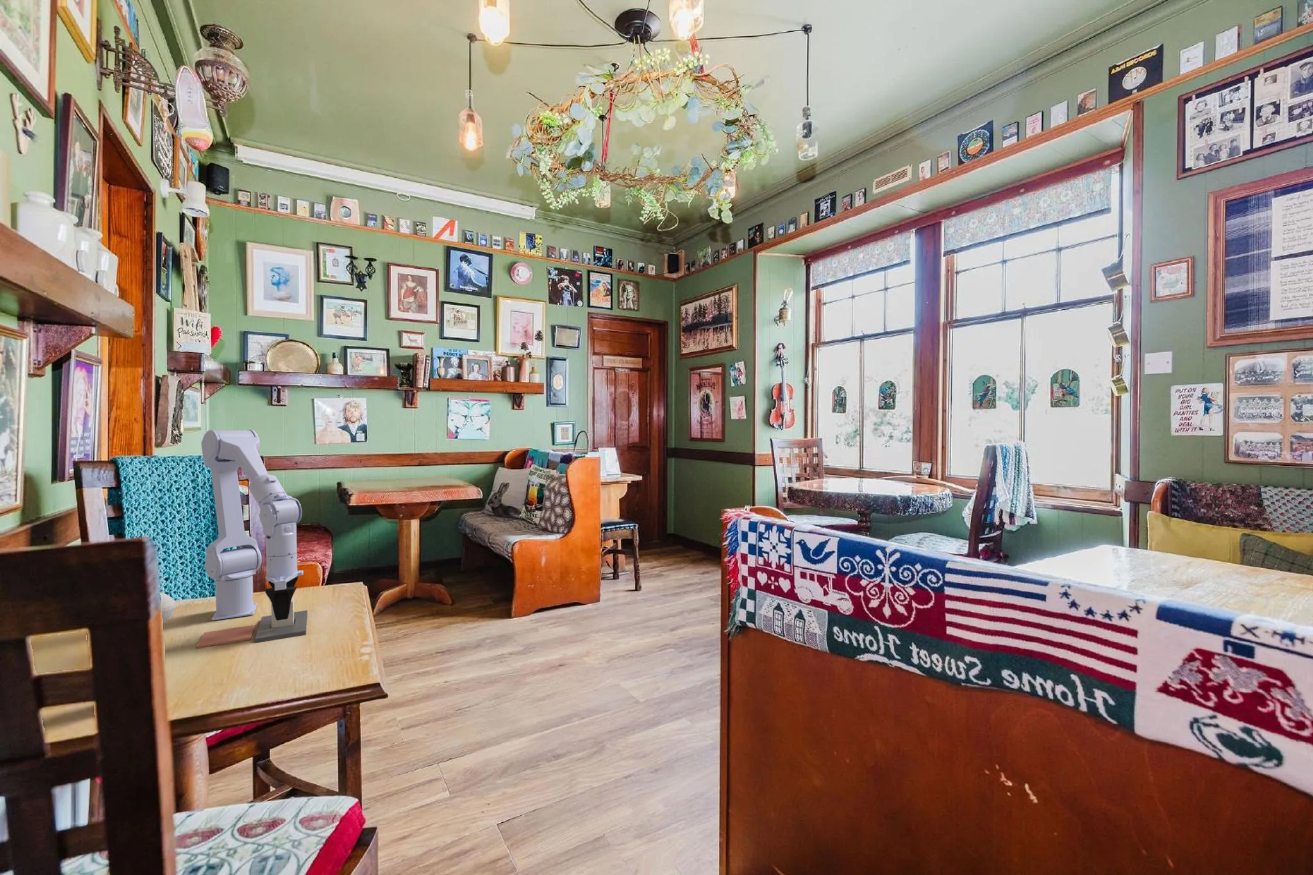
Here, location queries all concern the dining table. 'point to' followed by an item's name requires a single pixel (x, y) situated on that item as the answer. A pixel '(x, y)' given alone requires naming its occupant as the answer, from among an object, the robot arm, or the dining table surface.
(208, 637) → the mat
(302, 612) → the board
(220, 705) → the dining table surface
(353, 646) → the dining table surface
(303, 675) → the dining table surface
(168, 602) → the lollipop
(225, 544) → the robot arm
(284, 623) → the plug
